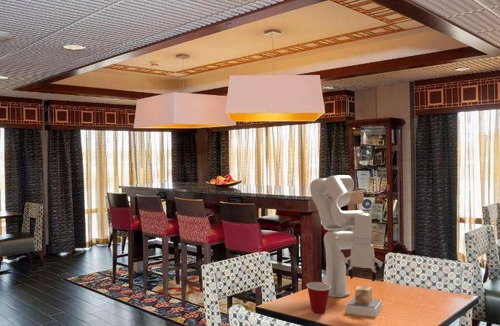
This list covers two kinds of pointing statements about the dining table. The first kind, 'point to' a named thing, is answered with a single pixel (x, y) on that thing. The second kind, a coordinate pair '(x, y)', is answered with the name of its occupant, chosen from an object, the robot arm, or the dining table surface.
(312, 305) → the plastic cup
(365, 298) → the oak cube
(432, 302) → the dining table surface
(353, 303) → the plinth
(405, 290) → the dining table surface
